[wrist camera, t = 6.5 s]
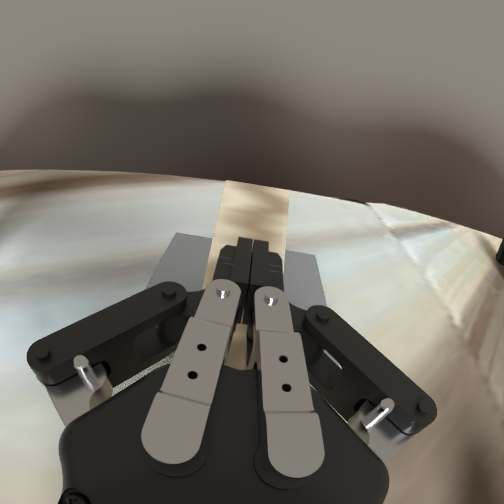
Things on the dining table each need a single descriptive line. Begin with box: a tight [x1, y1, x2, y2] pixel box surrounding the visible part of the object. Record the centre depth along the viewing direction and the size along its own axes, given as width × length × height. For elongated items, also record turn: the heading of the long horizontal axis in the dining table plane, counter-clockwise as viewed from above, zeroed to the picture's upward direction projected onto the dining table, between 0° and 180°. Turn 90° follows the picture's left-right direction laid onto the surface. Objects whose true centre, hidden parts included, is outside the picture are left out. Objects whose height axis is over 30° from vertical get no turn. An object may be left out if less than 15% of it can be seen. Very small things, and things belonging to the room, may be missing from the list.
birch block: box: [202, 180, 289, 370], centre depth 21 cm, size 5×5×14 cm
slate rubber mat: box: [145, 233, 338, 365], centre depth 28 cm, size 18×18×1 cm
